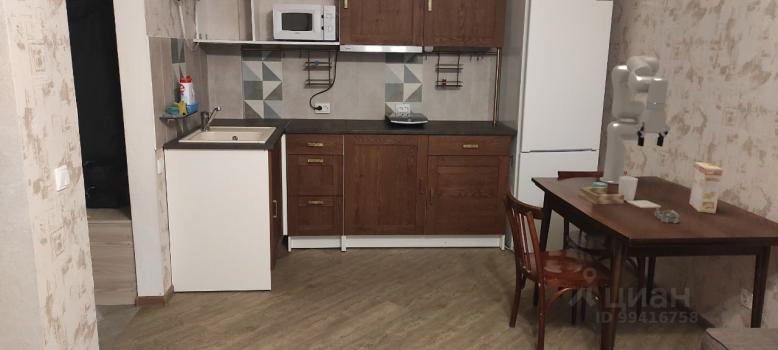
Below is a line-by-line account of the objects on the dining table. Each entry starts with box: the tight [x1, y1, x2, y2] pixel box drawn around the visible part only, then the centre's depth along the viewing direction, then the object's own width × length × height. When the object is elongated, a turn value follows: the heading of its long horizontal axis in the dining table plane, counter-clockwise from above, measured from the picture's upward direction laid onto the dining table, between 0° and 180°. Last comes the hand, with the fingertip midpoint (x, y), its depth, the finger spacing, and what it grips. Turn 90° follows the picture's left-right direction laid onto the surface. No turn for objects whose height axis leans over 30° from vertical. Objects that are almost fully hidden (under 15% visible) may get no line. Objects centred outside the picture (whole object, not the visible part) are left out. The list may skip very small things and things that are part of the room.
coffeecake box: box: [689, 161, 724, 214], centre depth 263 cm, size 15×7×20 cm, turn 168°
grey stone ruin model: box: [654, 207, 681, 224], centre depth 244 cm, size 11×8×4 cm
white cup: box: [617, 176, 639, 202], centre depth 274 cm, size 8×8×10 cm
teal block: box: [591, 181, 609, 195], centre depth 283 cm, size 5×5×5 cm
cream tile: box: [626, 199, 662, 209], centre depth 266 cm, size 10×10×1 cm
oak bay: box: [578, 186, 625, 205], centre depth 272 cm, size 14×14×4 cm
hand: (650, 146), depth 262 cm, fingers open, 9 cm apart
